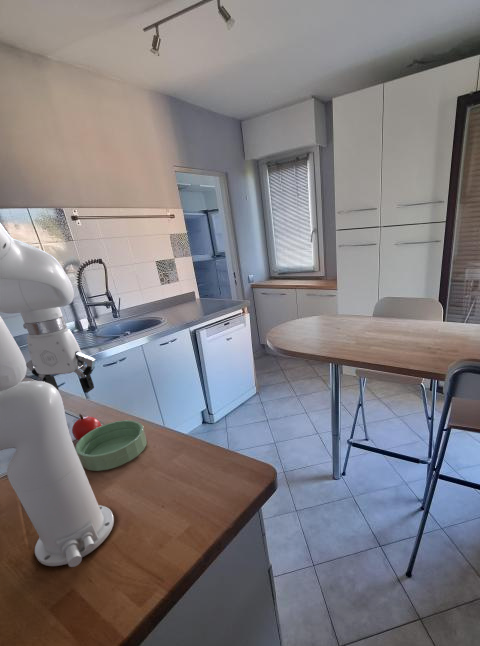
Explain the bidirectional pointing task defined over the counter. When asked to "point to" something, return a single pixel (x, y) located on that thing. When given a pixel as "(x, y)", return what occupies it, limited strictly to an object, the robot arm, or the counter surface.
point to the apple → (84, 426)
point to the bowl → (111, 445)
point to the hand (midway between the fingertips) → (71, 391)
